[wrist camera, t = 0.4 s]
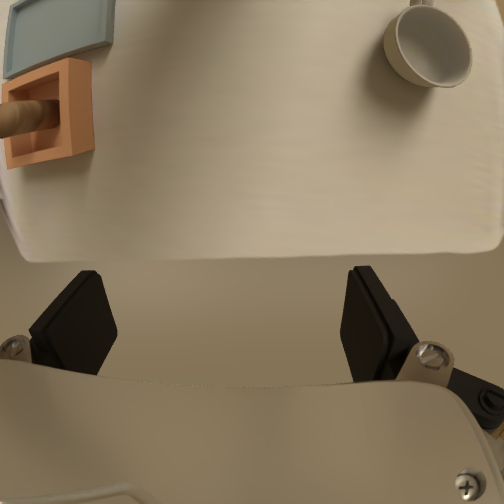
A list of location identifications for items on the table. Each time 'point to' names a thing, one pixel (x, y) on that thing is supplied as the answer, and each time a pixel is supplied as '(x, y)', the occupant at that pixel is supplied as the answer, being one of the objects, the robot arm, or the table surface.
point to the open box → (71, 112)
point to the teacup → (428, 46)
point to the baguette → (28, 116)
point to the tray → (54, 32)
